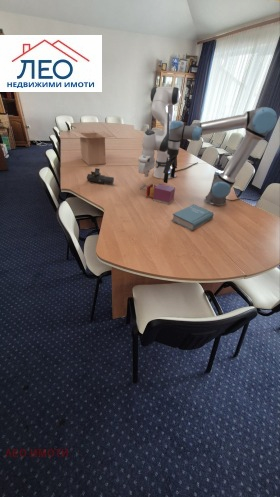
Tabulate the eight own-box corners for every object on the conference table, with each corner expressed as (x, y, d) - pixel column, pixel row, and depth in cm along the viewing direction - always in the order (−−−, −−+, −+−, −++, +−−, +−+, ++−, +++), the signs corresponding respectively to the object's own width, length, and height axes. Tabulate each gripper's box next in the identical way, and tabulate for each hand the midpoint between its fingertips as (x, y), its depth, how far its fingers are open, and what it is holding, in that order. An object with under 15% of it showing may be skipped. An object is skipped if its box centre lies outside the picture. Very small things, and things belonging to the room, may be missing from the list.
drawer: (139, 195, 169) (139, 185, 165) (144, 191, 176) (145, 181, 171) (159, 200, 163) (161, 190, 159) (164, 196, 170) (165, 186, 165)
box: (116, 165, 229) (116, 136, 213) (83, 168, 214) (80, 137, 198) (102, 154, 259) (101, 128, 243) (71, 156, 244) (68, 129, 228)
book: (192, 210, 154) (193, 204, 151) (212, 219, 146) (214, 212, 143) (171, 220, 141) (173, 213, 138) (192, 231, 132) (194, 224, 129)
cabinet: (153, 200, 165) (154, 187, 159) (158, 195, 173) (159, 183, 167) (168, 204, 161) (170, 191, 155) (173, 199, 168) (175, 187, 163)
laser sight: (111, 186, 182) (110, 174, 176) (85, 182, 185) (84, 170, 179) (114, 182, 190) (114, 170, 184) (89, 179, 192) (88, 167, 186)
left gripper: (150, 153, 164) (148, 172, 172) (137, 159, 149) (136, 179, 157) (157, 154, 162) (155, 173, 170) (145, 160, 147) (144, 181, 155)
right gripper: (174, 144, 155) (170, 174, 167) (160, 150, 136) (157, 184, 149) (184, 145, 152) (179, 176, 165) (172, 152, 134) (167, 186, 146)
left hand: (146, 176), depth 163 cm, fingers closed
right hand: (168, 180), depth 157 cm, fingers open, 13 cm apart
